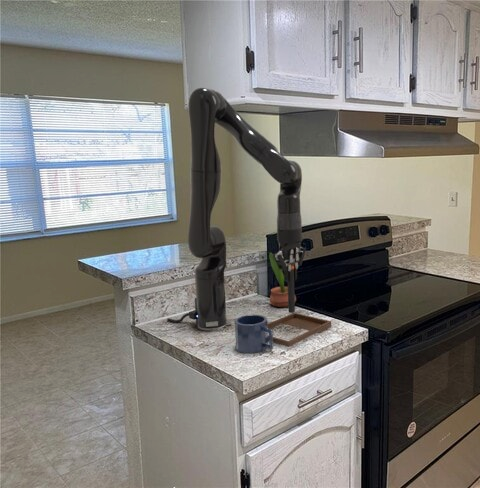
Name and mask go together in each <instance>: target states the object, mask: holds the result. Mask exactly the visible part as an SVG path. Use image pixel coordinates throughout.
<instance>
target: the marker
mask: <svg viewBox="0 0 480 488" xmlns="http://www.w3.org/2000/svg"><path fill="white" fill-rule="evenodd" d="M291 279H292V281H291V282H290V283H287V287H288V306H287V308H288V313H289V314H292V313H296V301H295V296H296V295H295V296H294V294H295V281H294V265H291Z"/></svg>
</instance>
